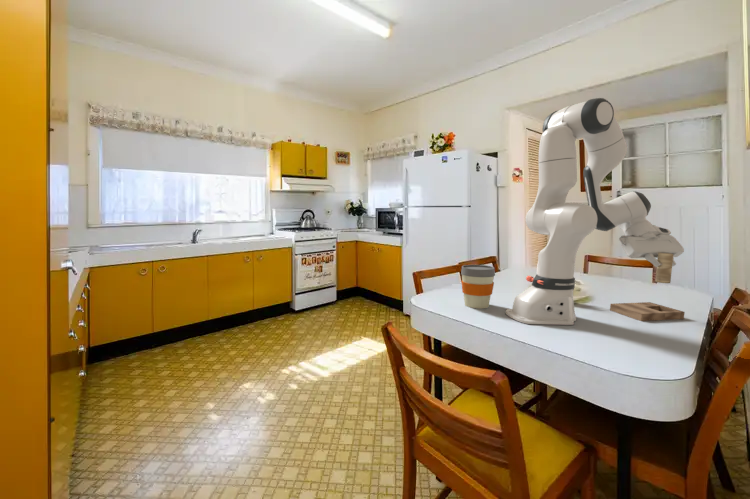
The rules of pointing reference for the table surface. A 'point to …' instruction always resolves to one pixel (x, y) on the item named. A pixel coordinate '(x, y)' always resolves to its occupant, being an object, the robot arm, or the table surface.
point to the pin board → (647, 311)
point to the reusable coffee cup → (477, 285)
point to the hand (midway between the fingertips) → (666, 265)
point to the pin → (664, 268)
